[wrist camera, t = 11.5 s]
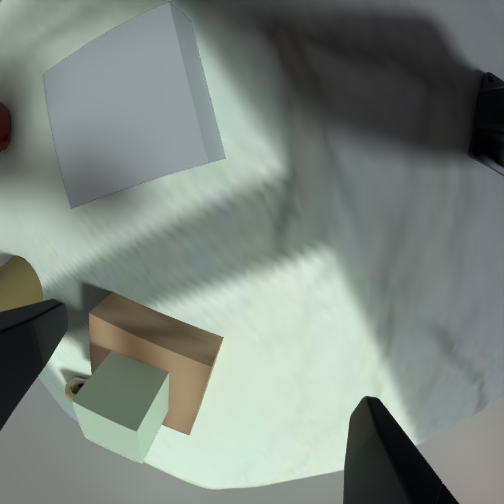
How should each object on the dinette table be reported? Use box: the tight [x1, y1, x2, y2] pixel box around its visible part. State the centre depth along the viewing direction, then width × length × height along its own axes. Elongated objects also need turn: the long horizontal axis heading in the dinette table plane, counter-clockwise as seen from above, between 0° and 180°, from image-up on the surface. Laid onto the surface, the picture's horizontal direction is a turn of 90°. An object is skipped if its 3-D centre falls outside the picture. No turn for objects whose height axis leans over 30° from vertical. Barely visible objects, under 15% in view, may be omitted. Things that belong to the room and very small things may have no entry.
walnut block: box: [89, 292, 224, 435], centre depth 24 cm, size 10×10×4 cm
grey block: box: [43, 2, 226, 209], centre depth 17 cm, size 10×10×4 cm
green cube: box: [72, 351, 169, 464], centre depth 19 cm, size 5×5×6 cm
